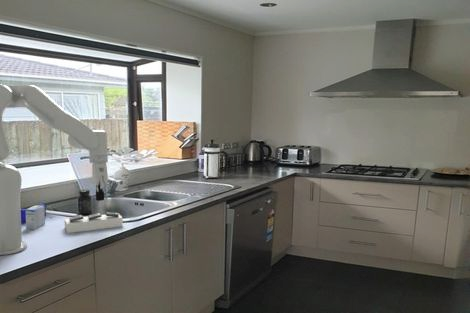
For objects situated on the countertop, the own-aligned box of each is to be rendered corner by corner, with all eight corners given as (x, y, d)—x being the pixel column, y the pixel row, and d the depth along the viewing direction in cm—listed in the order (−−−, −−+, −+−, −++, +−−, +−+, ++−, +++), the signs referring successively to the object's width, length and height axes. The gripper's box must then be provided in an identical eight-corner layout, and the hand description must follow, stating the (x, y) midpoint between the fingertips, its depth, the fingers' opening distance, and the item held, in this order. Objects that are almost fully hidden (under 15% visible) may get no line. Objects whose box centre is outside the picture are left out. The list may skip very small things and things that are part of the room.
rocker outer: (106, 216, 173) (107, 213, 173) (105, 214, 176) (105, 212, 176) (118, 216, 176) (118, 214, 175) (116, 214, 178) (117, 212, 178)
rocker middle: (89, 220, 169) (88, 217, 169) (87, 218, 172) (87, 215, 172) (101, 216, 172) (101, 214, 172) (100, 215, 174) (99, 212, 174)
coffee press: (214, 180, 292) (215, 140, 288) (197, 178, 300) (198, 139, 297) (227, 177, 306) (228, 139, 303) (211, 175, 315) (212, 138, 311)
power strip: (67, 233, 165) (67, 223, 164) (64, 227, 172) (64, 218, 171) (122, 226, 176) (122, 217, 176) (118, 221, 183) (118, 212, 182)
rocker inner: (70, 222, 166) (70, 219, 165) (69, 220, 168) (69, 217, 168) (83, 218, 168) (82, 216, 168) (82, 216, 171) (81, 214, 171)
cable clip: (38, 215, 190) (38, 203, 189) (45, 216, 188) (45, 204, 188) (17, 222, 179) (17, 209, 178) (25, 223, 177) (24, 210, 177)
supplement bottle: (74, 214, 192) (73, 190, 191) (84, 211, 198) (84, 188, 197) (84, 216, 189) (84, 192, 188) (95, 213, 196) (94, 189, 194)
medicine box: (35, 223, 176) (35, 205, 175) (45, 224, 176) (44, 205, 175) (25, 229, 168) (25, 209, 167) (36, 229, 168) (35, 209, 167)
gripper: (111, 160, 165) (112, 203, 168) (103, 156, 178) (105, 195, 181) (92, 161, 162) (94, 205, 164) (86, 157, 174) (88, 197, 177)
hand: (100, 200), depth 172 cm, fingers closed
